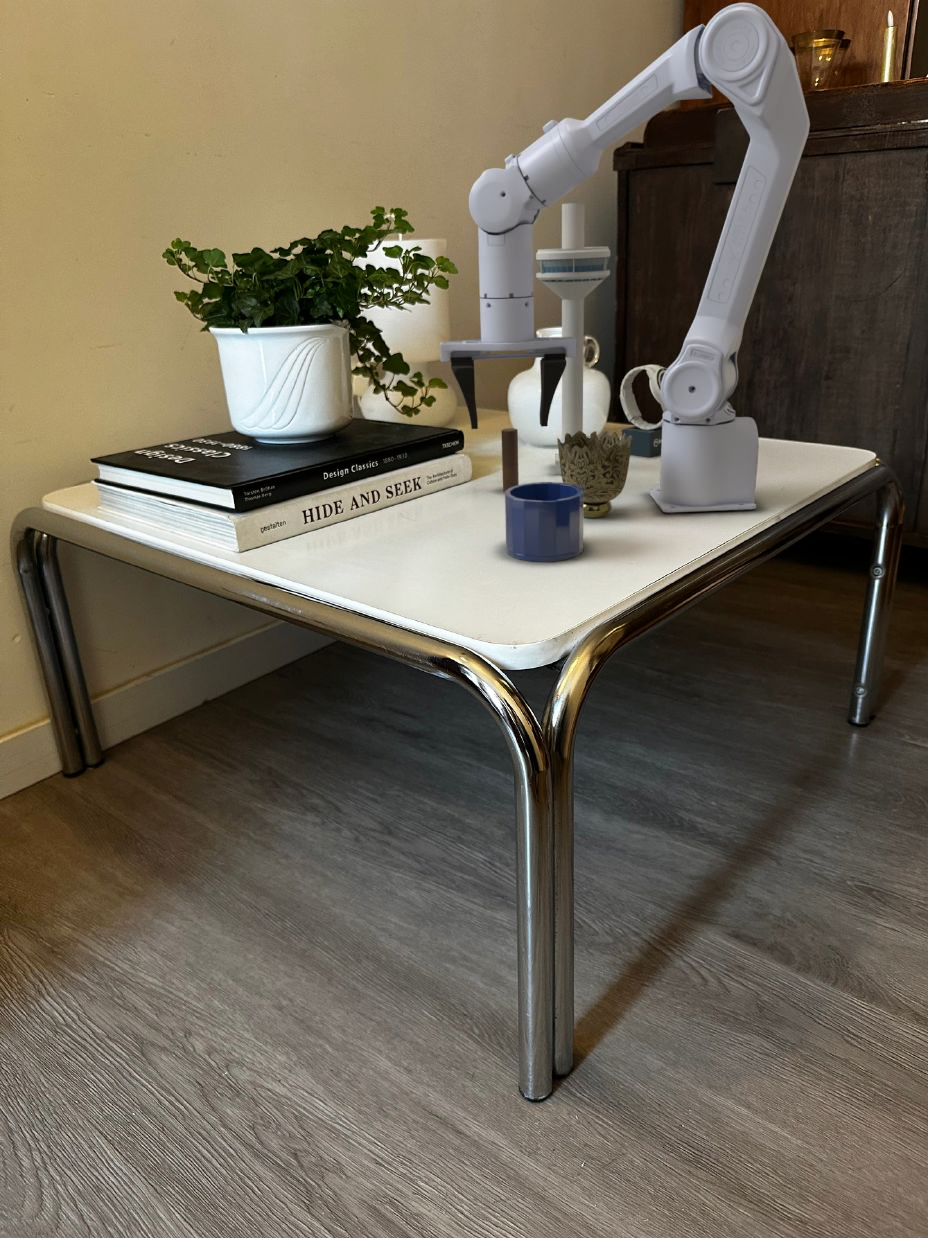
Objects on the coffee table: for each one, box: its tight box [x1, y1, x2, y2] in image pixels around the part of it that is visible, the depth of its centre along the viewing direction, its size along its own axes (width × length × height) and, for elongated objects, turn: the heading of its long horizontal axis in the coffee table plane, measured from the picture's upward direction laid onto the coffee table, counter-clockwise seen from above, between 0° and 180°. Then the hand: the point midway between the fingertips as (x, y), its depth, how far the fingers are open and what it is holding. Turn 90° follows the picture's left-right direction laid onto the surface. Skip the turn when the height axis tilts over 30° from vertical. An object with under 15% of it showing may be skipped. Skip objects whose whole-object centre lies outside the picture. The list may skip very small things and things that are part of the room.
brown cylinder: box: [501, 427, 520, 493], centre depth 104 cm, size 2×2×7 cm
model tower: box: [535, 202, 611, 476], centre depth 108 cm, size 8×8×30 cm
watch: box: [619, 364, 668, 458], centre depth 120 cm, size 6×8×11 cm
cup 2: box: [556, 430, 632, 519], centre depth 94 cm, size 8×7×8 cm
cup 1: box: [504, 481, 585, 563], centre depth 84 cm, size 7×7×6 cm
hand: (509, 426), depth 103 cm, fingers open, 7 cm apart
